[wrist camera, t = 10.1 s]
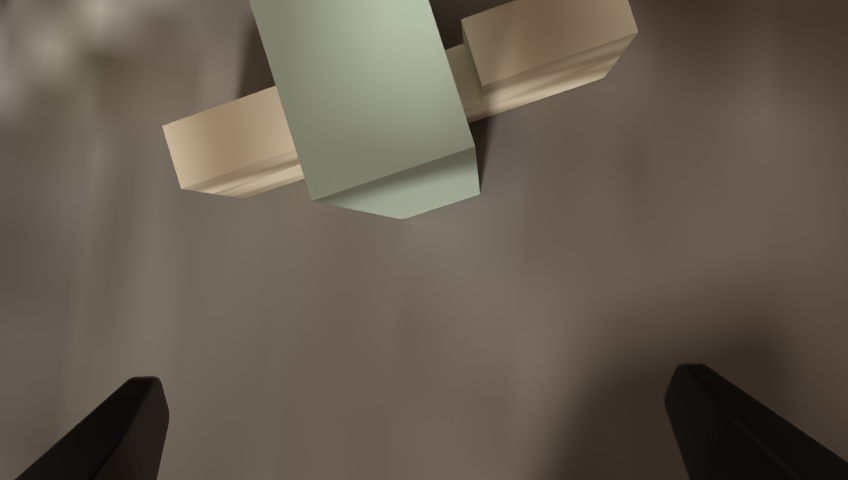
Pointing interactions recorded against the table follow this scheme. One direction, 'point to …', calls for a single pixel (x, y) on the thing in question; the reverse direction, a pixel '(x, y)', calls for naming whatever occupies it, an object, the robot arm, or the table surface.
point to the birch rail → (473, 75)
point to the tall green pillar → (370, 103)
